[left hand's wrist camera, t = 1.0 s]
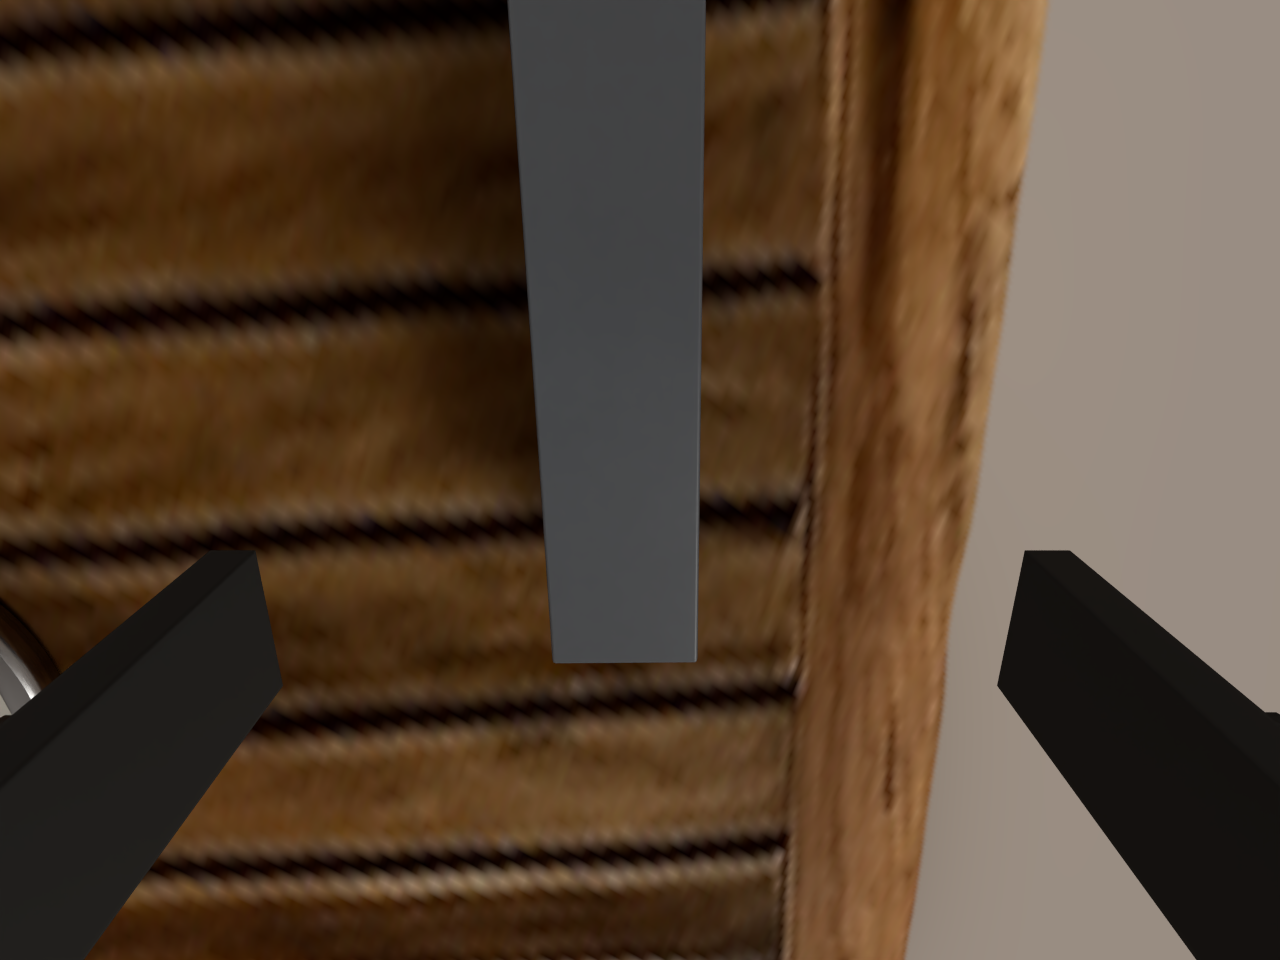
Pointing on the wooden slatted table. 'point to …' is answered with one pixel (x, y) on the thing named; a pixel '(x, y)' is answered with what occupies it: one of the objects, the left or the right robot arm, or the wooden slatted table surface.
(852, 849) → the wooden slatted table surface
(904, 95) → the wooden slatted table surface
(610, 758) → the wooden slatted table surface
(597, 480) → the post
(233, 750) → the left robot arm
